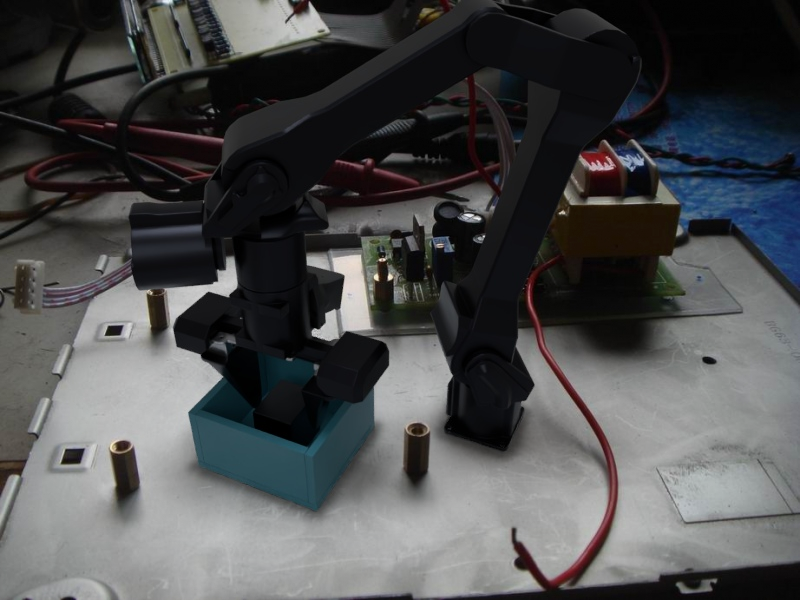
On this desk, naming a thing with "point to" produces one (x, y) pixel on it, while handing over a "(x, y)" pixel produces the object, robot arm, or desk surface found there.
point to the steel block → (285, 414)
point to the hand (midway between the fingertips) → (286, 415)
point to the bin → (278, 438)
